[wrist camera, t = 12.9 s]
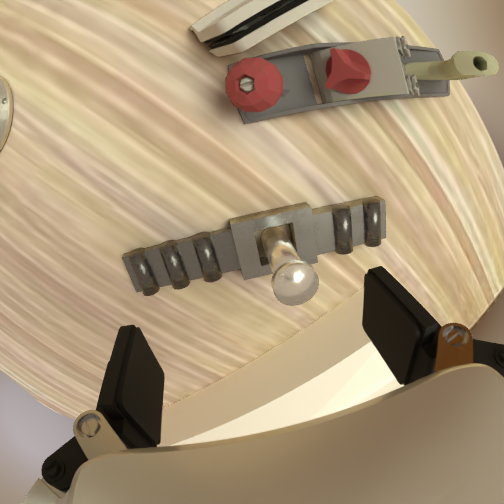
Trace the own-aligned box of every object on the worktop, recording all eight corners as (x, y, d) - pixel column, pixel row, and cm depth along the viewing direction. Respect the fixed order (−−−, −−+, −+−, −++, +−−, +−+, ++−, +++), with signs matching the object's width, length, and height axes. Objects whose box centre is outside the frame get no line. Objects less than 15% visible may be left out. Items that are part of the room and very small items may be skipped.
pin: (253, 226, 34) (269, 271, 24) (287, 218, 34) (316, 260, 24) (259, 256, 35) (277, 310, 25) (292, 249, 35) (320, 299, 26)
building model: (366, 281, 40) (399, 320, 31) (405, 353, 48) (428, 386, 40) (152, 412, 47) (147, 452, 39) (226, 450, 56) (229, 484, 47)
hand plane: (449, 95, 29) (532, 103, 15) (233, 127, 29) (247, 128, 16) (439, 50, 26) (519, 41, 12) (216, 68, 26) (216, 22, 13)
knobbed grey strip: (141, 294, 36) (136, 308, 33) (121, 246, 33) (114, 257, 30) (378, 239, 36) (390, 248, 34) (376, 188, 33) (389, 194, 31)
